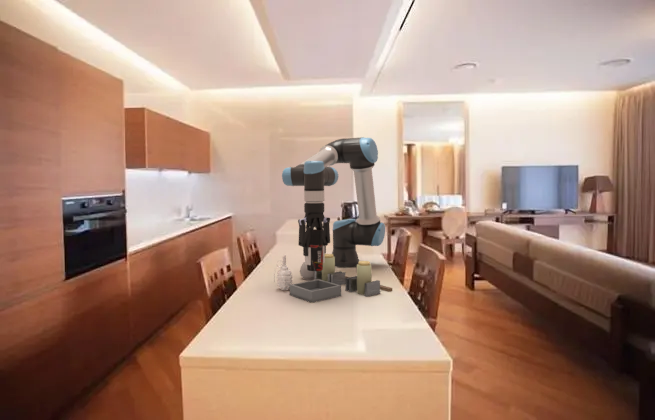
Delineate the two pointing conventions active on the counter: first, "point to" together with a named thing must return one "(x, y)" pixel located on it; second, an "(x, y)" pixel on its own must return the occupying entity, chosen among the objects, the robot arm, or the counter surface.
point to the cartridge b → (363, 275)
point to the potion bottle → (306, 273)
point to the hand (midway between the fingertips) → (314, 263)
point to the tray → (315, 290)
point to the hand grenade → (284, 276)
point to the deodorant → (316, 250)
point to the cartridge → (328, 266)
